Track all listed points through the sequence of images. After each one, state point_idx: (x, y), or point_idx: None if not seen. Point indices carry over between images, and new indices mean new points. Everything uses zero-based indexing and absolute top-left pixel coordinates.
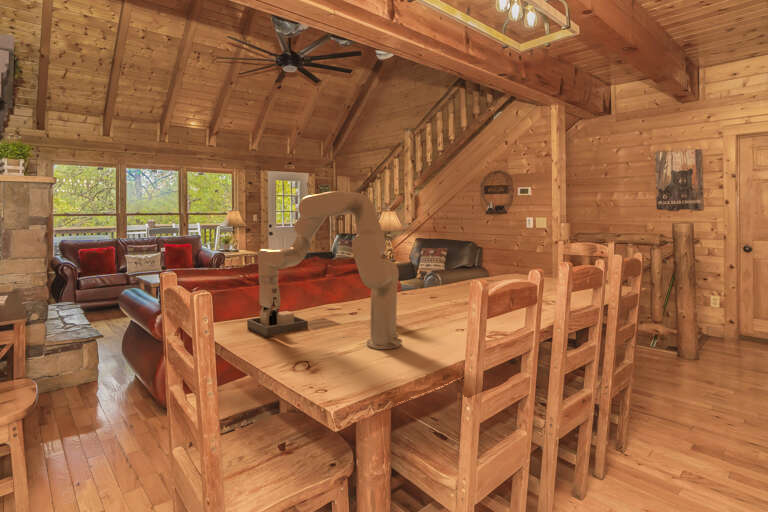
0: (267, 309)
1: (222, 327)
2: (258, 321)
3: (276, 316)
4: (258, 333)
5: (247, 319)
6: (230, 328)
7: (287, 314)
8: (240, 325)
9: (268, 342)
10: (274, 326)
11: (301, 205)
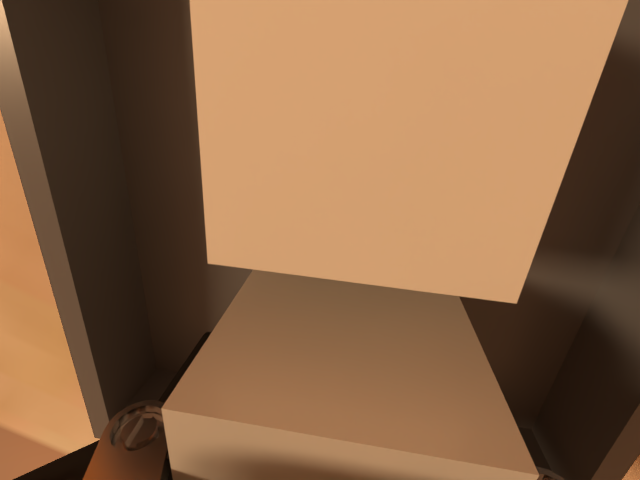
0: (145, 473)
1: (26, 427)
2: (120, 321)
3: None
4: None
5: (95, 436)
6: (76, 414)
7: (563, 157)
8: (19, 337)
9: (632, 470)
10: (610, 459)
11: None
